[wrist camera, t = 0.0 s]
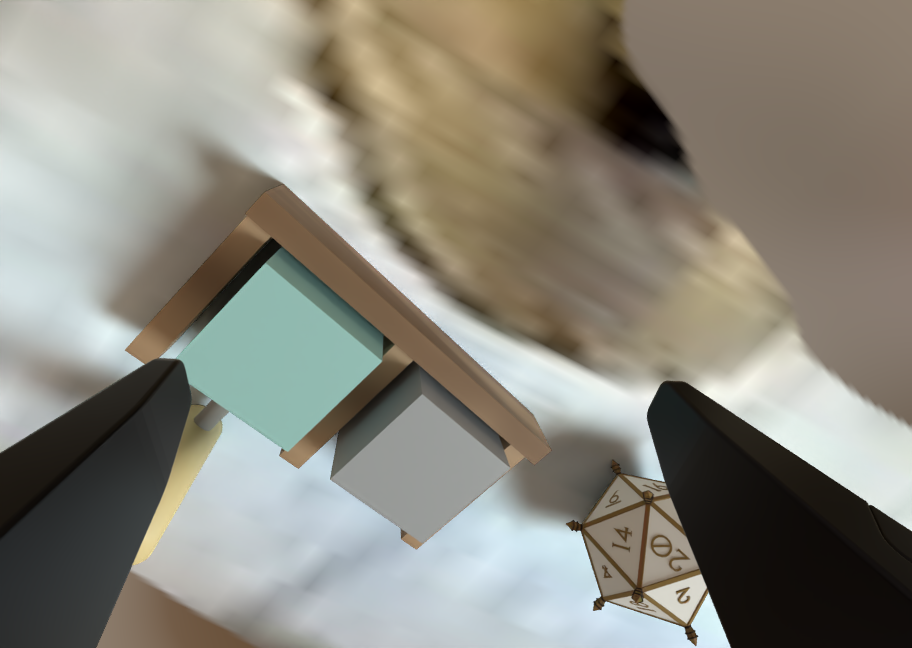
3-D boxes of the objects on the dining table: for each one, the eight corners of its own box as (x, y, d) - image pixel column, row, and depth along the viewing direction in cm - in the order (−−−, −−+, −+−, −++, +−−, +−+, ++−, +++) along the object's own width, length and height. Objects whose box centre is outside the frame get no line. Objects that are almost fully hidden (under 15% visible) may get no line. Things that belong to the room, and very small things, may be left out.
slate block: (417, 478, 29) (422, 543, 24) (340, 420, 27) (330, 479, 22) (490, 413, 28) (510, 468, 23) (416, 348, 26) (422, 394, 21)
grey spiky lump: (570, 466, 34) (517, 546, 26) (679, 414, 30) (659, 489, 22) (644, 580, 33) (615, 703, 25) (769, 542, 29) (786, 675, 20)
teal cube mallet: (229, 470, 27) (168, 596, 19) (131, 407, 25) (21, 521, 17) (383, 320, 25) (381, 396, 17) (290, 238, 23) (242, 284, 15)
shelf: (414, 517, 30) (417, 564, 26) (151, 329, 24) (112, 359, 20) (533, 414, 28) (551, 450, 25) (283, 183, 22) (265, 191, 19)
